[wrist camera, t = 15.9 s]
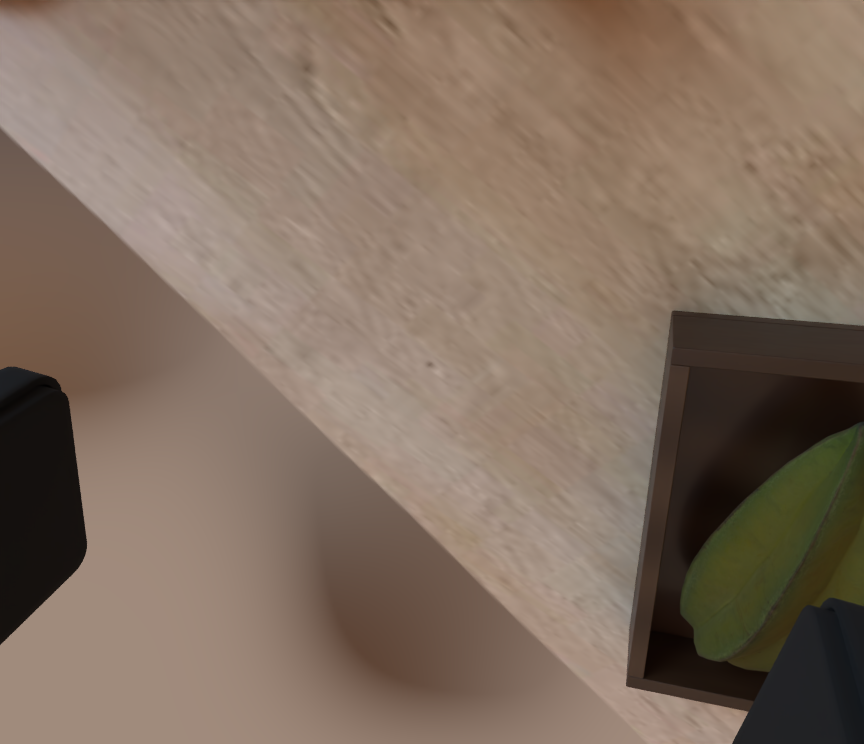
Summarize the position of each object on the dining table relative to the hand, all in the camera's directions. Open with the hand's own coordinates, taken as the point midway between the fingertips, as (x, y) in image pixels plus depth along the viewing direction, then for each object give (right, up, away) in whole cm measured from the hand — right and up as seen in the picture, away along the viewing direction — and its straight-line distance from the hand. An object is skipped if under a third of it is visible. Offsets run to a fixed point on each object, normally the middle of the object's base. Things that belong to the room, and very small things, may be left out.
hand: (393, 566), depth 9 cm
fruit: (+16, -8, +21) cm, 28 cm away
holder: (+18, -4, +27) cm, 33 cm away
